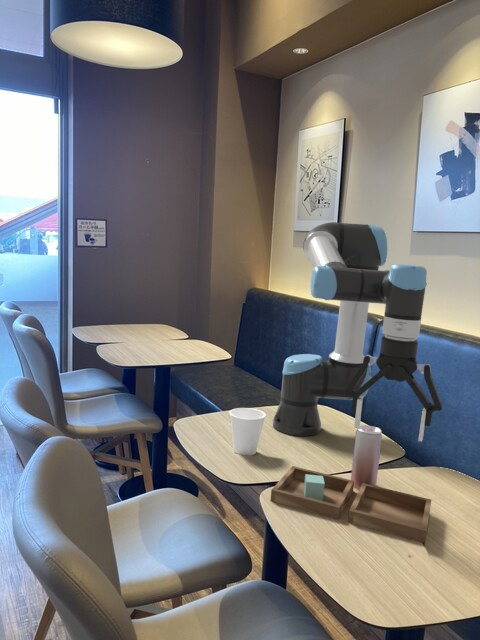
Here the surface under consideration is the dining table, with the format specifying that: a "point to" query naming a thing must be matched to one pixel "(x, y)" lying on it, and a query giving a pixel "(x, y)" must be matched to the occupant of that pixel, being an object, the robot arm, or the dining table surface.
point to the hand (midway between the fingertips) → (388, 432)
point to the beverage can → (366, 456)
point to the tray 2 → (391, 512)
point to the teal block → (314, 487)
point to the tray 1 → (293, 495)
